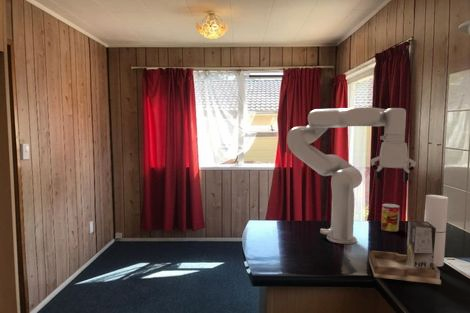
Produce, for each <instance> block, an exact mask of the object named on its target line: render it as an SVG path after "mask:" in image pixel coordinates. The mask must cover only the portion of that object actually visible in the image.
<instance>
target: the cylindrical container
mask: <svg viewBox="0 0 470 313" xmlns="http://www.w3.org/2000/svg"><path fill="white" fill-rule="evenodd" d="M424 202H425V203H424V207H425V208H424V220H423V221H427V222H428V223H430V224H431V225H432V226H434V227H435V228H436V232H435V246H434V260H433V263H434V264H435V266H436V267H437V268H438V267H443V266H445V265H444V264H445V251H446V250H445V248H446V235H447V223H448V222H447V221H448V220H447V219H448V208H449V207H448V206H449V197H448V196H445V195H438V194H426V195H425V201H424Z"/></svg>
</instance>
